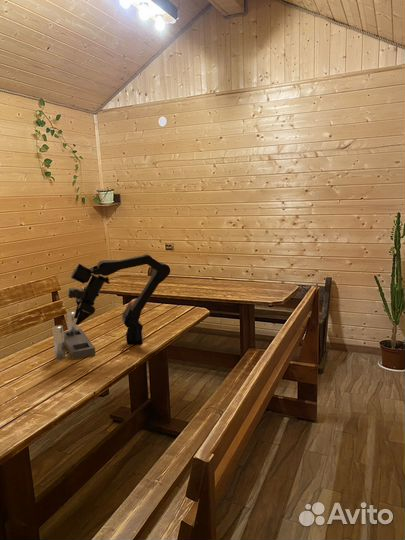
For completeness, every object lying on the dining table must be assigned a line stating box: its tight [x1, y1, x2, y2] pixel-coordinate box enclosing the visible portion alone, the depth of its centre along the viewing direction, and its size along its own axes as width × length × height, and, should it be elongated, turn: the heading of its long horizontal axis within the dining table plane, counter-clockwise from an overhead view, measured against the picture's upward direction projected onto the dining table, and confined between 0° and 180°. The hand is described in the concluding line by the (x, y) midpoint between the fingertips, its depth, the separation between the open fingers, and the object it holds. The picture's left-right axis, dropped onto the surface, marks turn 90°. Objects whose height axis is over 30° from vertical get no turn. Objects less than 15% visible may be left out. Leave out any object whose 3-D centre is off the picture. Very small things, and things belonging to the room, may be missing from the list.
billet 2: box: [66, 310, 79, 336], centre depth 178 cm, size 4×4×13 cm
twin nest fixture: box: [63, 328, 96, 360], centre depth 171 cm, size 9×28×3 cm, turn 28°
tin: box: [127, 297, 138, 308], centre depth 215 cm, size 15×3×8 cm, turn 168°
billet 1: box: [51, 324, 67, 360], centre depth 159 cm, size 4×4×13 cm
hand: (75, 321), depth 164 cm, fingers open, 9 cm apart
